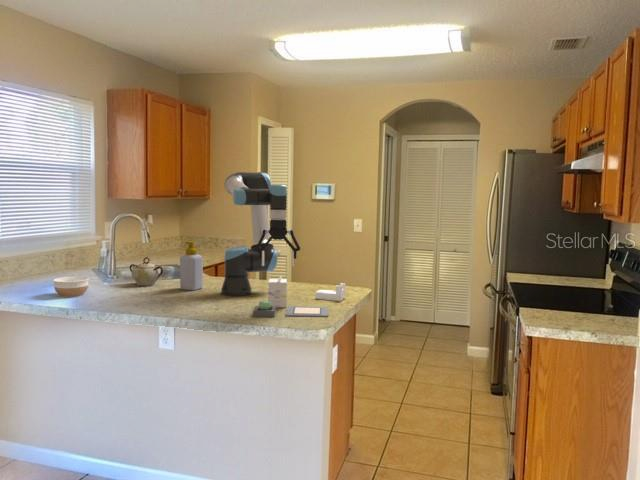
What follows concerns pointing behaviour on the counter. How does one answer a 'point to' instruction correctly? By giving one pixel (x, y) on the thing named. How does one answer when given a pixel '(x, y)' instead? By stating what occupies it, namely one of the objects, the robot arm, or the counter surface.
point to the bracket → (332, 293)
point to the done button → (264, 305)
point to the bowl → (71, 286)
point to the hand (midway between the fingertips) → (277, 265)
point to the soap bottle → (191, 269)
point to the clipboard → (307, 311)
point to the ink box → (278, 292)
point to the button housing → (264, 312)
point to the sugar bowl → (146, 273)
